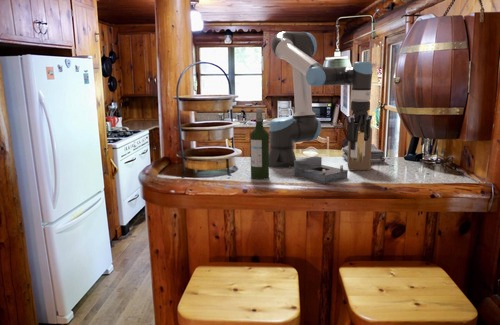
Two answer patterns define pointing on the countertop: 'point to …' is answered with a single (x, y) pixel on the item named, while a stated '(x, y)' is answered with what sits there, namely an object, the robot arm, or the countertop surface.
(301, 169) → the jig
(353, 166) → the wooden block
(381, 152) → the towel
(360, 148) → the brass cylinder
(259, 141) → the wine bottle
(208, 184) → the countertop surface
